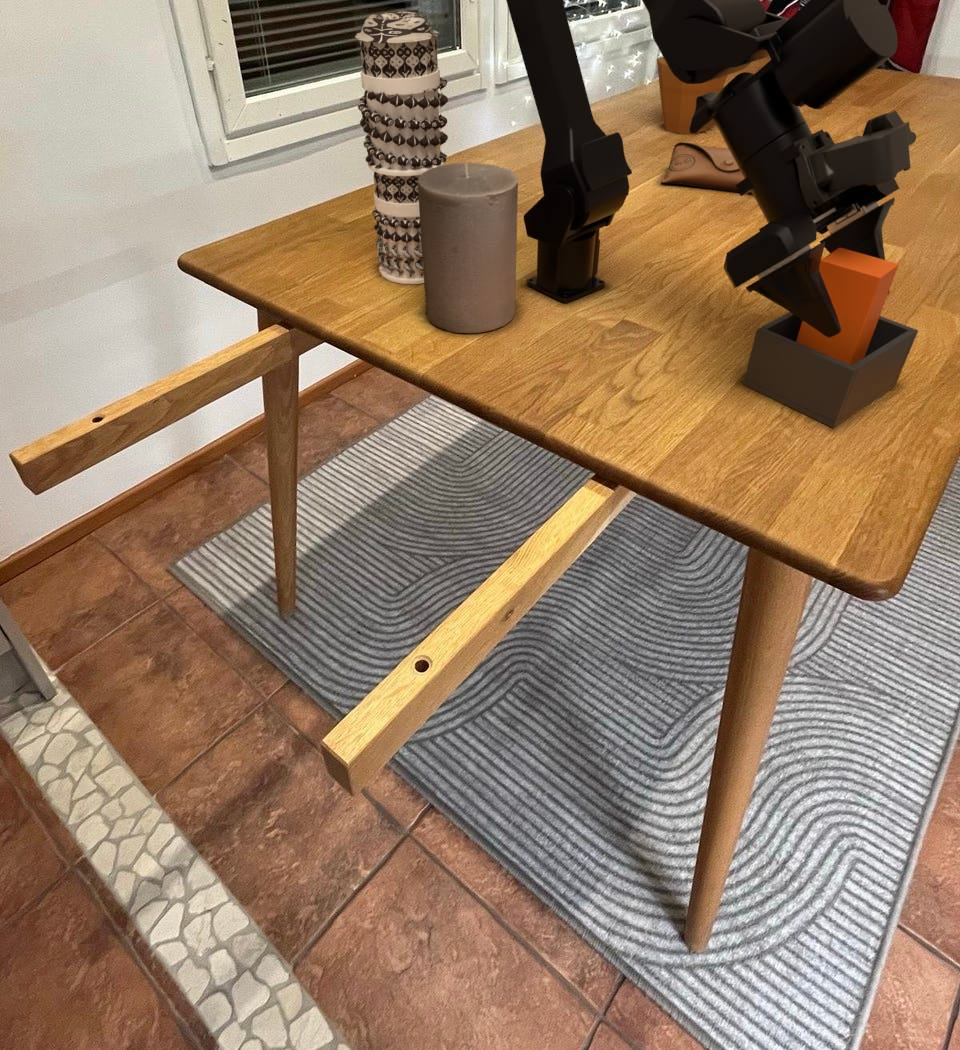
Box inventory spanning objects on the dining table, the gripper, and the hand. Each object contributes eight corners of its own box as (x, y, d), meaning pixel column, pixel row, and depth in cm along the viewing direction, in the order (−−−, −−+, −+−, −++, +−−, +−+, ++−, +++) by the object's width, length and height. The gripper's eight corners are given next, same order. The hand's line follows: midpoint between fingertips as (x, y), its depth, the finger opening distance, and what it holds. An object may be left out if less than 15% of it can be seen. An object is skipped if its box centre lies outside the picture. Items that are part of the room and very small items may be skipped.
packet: (837, 397, 66) (880, 277, 59) (785, 376, 69) (820, 259, 61) (855, 382, 68) (899, 263, 60) (803, 362, 70) (839, 246, 63)
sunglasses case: (658, 181, 108) (669, 131, 106) (663, 194, 114) (673, 147, 113) (789, 196, 103) (803, 144, 101) (786, 208, 109) (799, 159, 108)
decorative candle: (468, 273, 87) (462, 17, 70) (396, 292, 84) (371, 27, 67) (433, 247, 93) (418, 4, 76) (364, 263, 90) (333, 13, 73)
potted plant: (747, 144, 122) (797, -95, 102) (630, 141, 124) (656, -94, 104) (737, 114, 135) (779, -103, 114) (631, 112, 137) (654, -102, 117)
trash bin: (833, 428, 64) (854, 370, 60) (742, 384, 69) (756, 328, 65) (895, 386, 68) (918, 330, 64) (806, 348, 74) (822, 294, 70)
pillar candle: (407, 313, 80) (393, 164, 70) (472, 284, 85) (469, 141, 75) (470, 344, 75) (465, 188, 65) (536, 311, 80) (541, 162, 70)
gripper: (801, 103, 49) (908, 311, 51) (915, 56, 59) (1003, 233, 61) (680, 198, 59) (774, 371, 61) (795, 144, 69) (874, 295, 70)
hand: (860, 315), depth 63 cm, fingers open, 9 cm apart
